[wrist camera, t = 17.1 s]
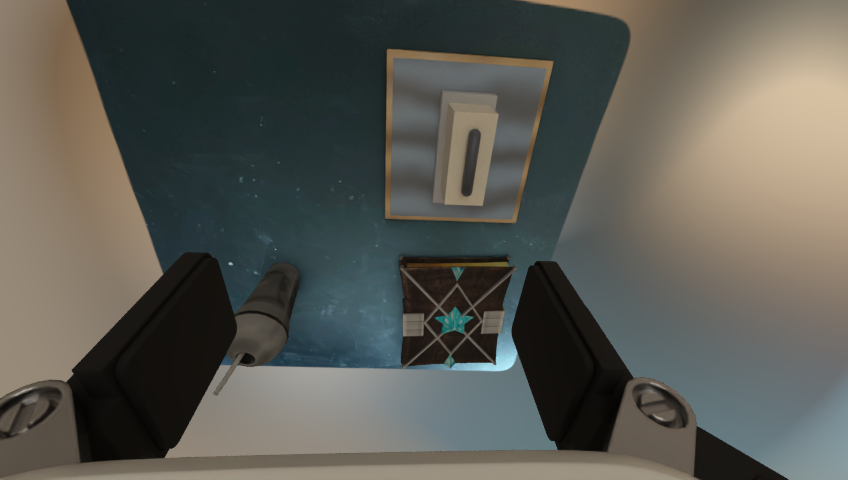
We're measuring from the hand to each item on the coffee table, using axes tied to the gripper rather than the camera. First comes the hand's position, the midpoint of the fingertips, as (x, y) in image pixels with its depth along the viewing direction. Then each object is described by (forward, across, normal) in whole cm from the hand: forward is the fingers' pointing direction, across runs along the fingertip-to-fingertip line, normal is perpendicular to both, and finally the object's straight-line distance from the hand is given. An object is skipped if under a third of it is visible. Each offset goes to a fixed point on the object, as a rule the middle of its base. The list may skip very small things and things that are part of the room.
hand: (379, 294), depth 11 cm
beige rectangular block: (+32, -8, +5) cm, 34 cm away
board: (+34, -8, +5) cm, 36 cm away
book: (+34, -10, +32) cm, 48 cm away
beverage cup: (+34, +16, +26) cm, 46 cm away
